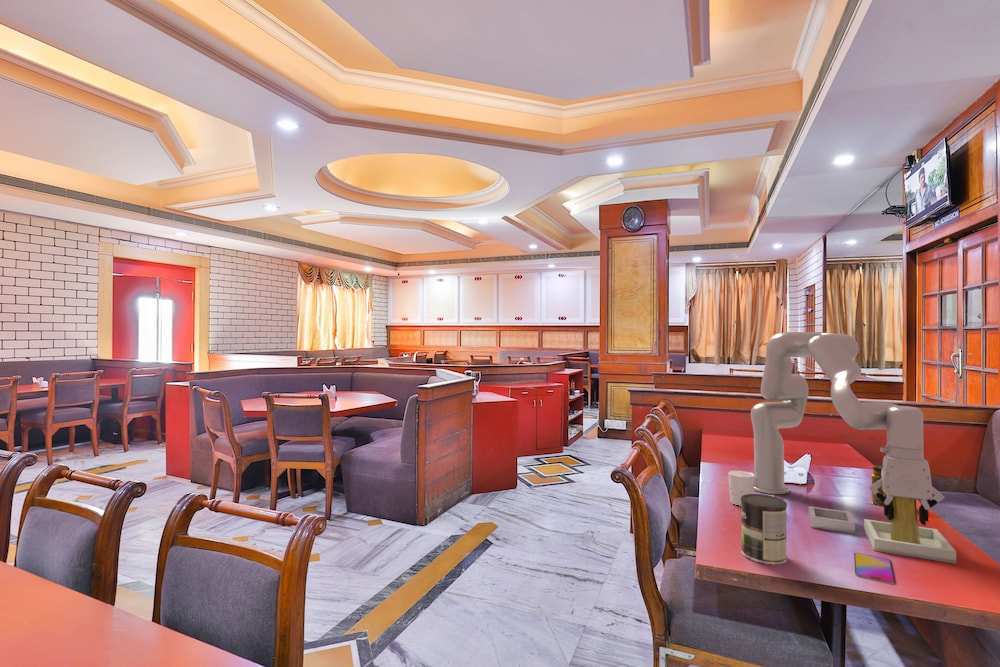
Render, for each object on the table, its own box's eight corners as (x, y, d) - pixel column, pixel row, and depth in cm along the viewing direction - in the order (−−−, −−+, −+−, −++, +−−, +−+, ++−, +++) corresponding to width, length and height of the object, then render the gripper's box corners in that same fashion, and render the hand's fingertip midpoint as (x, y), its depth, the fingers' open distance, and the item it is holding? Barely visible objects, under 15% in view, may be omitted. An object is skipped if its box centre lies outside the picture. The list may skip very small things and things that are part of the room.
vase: (912, 547, 127) (910, 491, 127) (885, 539, 132) (883, 485, 133) (924, 543, 129) (922, 488, 130) (897, 535, 135) (895, 483, 136)
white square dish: (811, 527, 143) (811, 516, 143) (808, 516, 152) (808, 506, 152) (855, 534, 138) (854, 523, 138) (849, 521, 147) (849, 511, 147)
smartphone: (890, 559, 122) (895, 583, 110) (890, 562, 122) (895, 586, 110) (853, 552, 126) (855, 574, 114) (853, 554, 126) (855, 577, 114)
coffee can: (739, 559, 123) (739, 502, 123) (742, 544, 132) (742, 491, 132) (787, 568, 118) (786, 509, 118) (787, 552, 126) (787, 497, 127)
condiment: (874, 499, 169) (873, 463, 169) (905, 505, 162) (905, 468, 162) (867, 503, 164) (867, 467, 164) (899, 510, 157) (899, 472, 157)
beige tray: (874, 550, 127) (874, 538, 127) (864, 529, 141) (864, 519, 141) (956, 563, 120) (956, 551, 120) (936, 540, 134) (936, 529, 134)
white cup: (729, 506, 162) (728, 475, 162) (727, 499, 169) (727, 469, 169) (756, 509, 159) (755, 478, 159) (753, 501, 166) (753, 471, 166)
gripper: (867, 452, 132) (867, 520, 132) (952, 460, 123) (953, 532, 123) (862, 447, 138) (863, 511, 138) (943, 453, 130) (944, 522, 130)
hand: (905, 520), depth 131 cm, fingers open, 6 cm apart
